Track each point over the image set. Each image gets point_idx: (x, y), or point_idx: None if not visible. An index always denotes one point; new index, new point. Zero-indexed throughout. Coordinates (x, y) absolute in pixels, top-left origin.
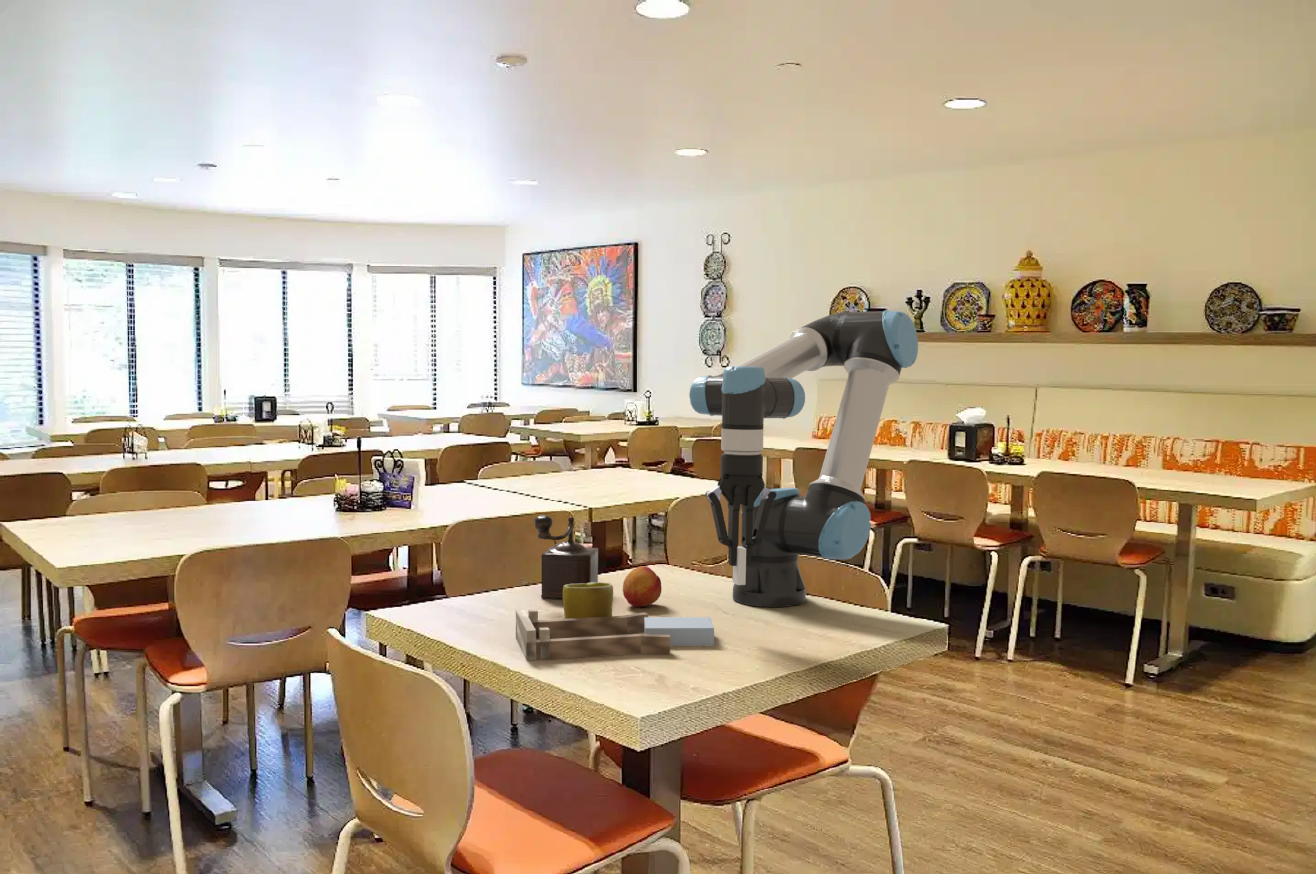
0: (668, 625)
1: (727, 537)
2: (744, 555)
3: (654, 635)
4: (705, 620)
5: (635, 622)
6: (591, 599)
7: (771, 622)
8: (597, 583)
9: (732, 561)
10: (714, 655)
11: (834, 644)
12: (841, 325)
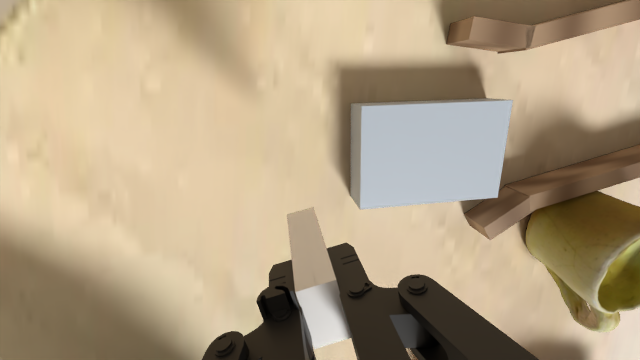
0: (460, 127)
1: (418, 305)
2: (300, 269)
3: (504, 32)
4: (374, 178)
5: (501, 204)
6: (631, 211)
7: (218, 295)
8: (609, 310)
9: (347, 252)
10: (356, 17)
11: (63, 123)
12: None
